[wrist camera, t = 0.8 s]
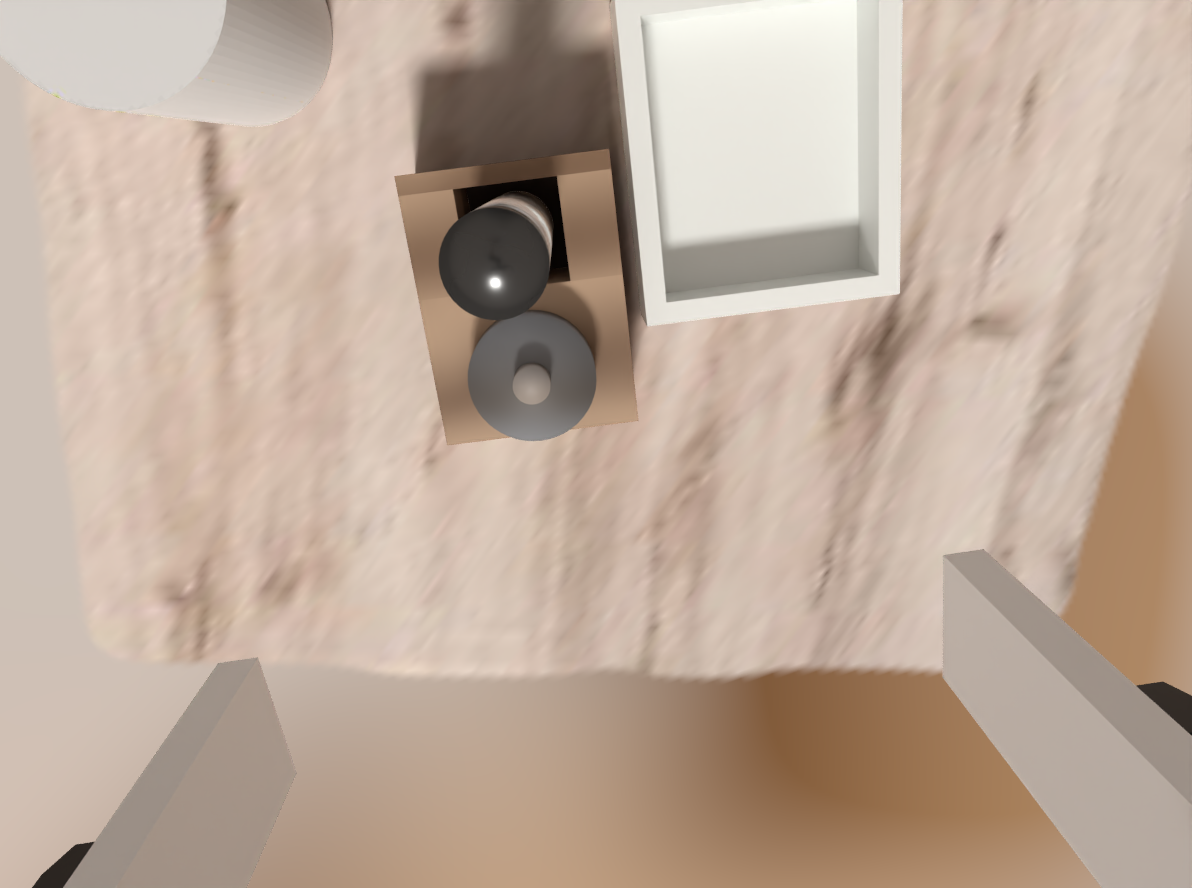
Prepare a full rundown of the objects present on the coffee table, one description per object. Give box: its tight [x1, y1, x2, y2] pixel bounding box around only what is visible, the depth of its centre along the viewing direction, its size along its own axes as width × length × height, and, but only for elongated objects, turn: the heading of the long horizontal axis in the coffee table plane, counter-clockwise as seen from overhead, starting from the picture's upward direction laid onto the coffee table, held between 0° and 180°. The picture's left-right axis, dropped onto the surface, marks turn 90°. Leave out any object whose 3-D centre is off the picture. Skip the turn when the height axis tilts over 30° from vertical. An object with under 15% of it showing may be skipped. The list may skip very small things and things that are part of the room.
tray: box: [609, 0, 903, 326], centre depth 36 cm, size 14×12×3 cm
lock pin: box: [439, 191, 554, 320], centre depth 31 cm, size 3×3×15 cm
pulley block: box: [394, 149, 638, 445], centre depth 36 cm, size 12×9×8 cm
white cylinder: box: [0, 0, 333, 127], centre depth 30 cm, size 8×8×12 cm
